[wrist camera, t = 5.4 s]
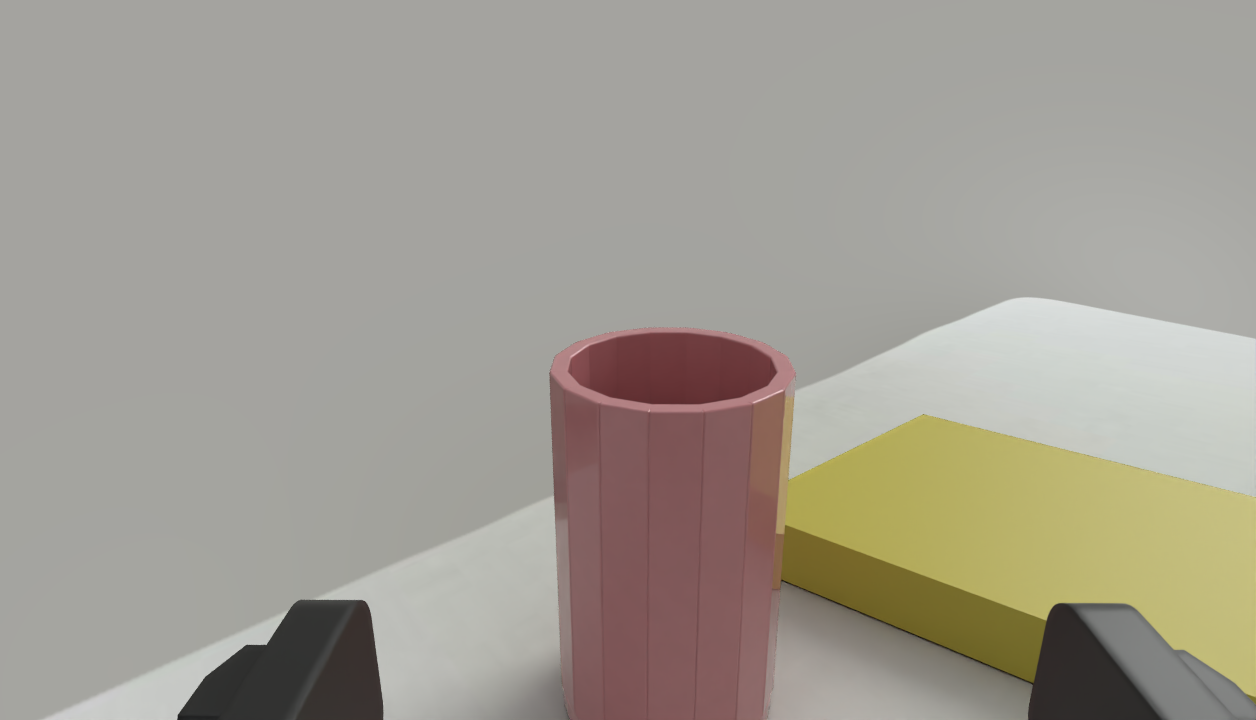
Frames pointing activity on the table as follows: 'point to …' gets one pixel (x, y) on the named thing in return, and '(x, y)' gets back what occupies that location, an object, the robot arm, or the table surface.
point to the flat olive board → (1022, 544)
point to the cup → (669, 522)
